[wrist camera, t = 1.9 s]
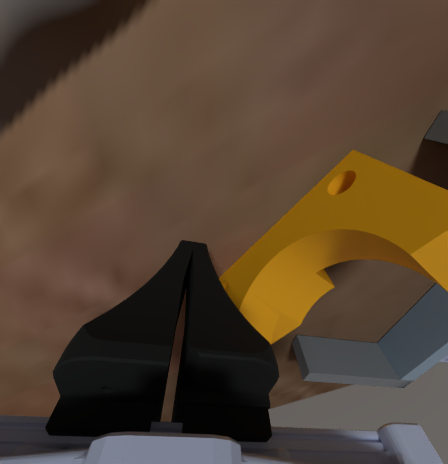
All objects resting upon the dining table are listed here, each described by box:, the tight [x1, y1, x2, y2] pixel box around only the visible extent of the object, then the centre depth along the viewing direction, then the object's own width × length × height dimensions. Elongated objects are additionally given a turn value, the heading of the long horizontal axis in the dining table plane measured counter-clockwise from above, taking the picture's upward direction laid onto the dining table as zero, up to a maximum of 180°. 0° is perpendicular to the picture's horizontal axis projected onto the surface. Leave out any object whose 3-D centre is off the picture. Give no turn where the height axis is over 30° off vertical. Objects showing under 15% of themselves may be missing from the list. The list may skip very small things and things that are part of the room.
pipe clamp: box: [219, 150, 448, 344], centre depth 11 cm, size 12×4×6 cm, turn 141°
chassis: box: [292, 110, 448, 388], centre depth 14 cm, size 9×18×3 cm, turn 168°
